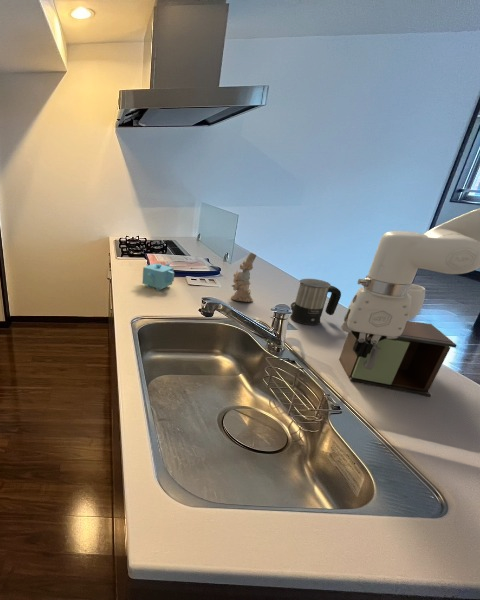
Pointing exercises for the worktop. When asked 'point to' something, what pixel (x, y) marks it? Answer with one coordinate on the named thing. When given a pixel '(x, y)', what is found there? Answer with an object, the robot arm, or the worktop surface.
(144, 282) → the teapot
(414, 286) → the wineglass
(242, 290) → the figurine
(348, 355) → the cupboard
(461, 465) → the worktop surface
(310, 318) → the milk frother
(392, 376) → the sliding door
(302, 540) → the worktop surface
